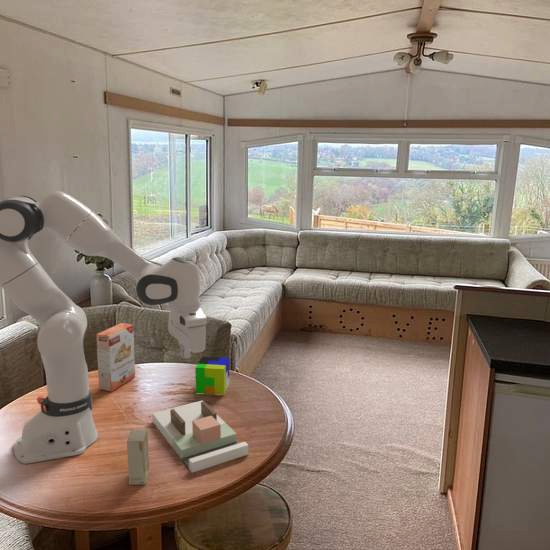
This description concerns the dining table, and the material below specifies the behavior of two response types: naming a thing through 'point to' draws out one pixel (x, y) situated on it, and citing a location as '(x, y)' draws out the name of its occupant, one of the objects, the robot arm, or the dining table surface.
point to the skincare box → (138, 457)
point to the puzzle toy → (212, 375)
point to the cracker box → (115, 356)
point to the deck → (189, 445)
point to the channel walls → (180, 423)
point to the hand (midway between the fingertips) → (185, 356)
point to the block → (206, 430)
